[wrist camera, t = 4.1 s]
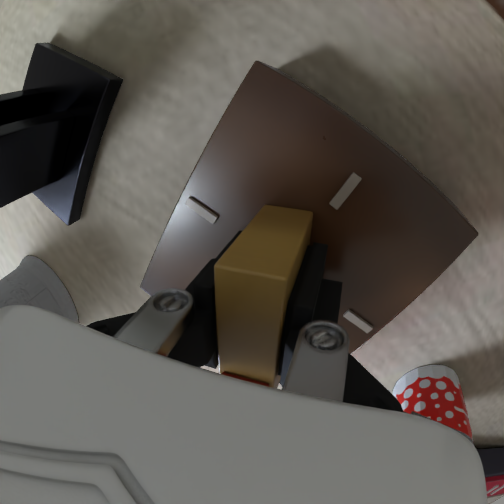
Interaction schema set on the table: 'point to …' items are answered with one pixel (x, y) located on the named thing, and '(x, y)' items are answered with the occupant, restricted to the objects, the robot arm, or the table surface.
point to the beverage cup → (434, 396)
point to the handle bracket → (54, 130)
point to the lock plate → (314, 201)
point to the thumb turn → (258, 292)
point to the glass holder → (36, 289)
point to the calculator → (493, 472)
